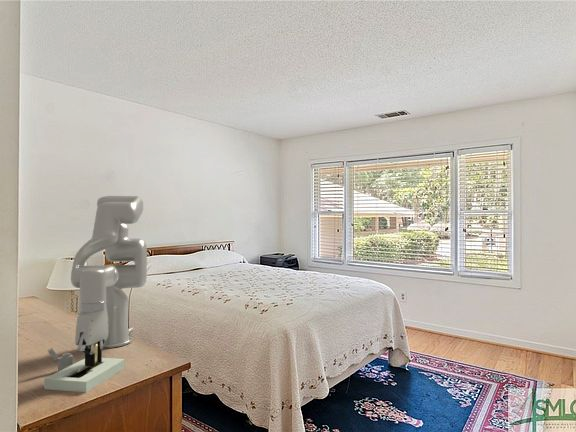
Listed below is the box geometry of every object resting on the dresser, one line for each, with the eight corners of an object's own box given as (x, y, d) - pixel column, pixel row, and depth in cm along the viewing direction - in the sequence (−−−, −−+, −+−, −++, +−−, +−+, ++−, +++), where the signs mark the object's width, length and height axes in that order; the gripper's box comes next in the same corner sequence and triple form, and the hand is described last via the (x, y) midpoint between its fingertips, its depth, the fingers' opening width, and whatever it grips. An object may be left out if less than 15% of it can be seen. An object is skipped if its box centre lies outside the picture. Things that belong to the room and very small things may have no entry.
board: (88, 365, 125) (88, 356, 125) (125, 368, 123) (125, 359, 123) (44, 389, 108) (44, 378, 108) (86, 392, 105) (86, 381, 105)
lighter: (72, 367, 124) (72, 343, 124) (73, 369, 122) (73, 344, 123) (47, 372, 120) (47, 348, 120) (47, 374, 118) (47, 349, 118)
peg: (92, 370, 120) (92, 338, 121) (104, 371, 120) (104, 339, 120) (82, 375, 116) (82, 343, 116) (94, 376, 115) (94, 343, 116)
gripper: (100, 301, 127) (100, 354, 127) (63, 312, 111) (63, 373, 111) (119, 301, 125) (119, 355, 125) (85, 313, 110) (85, 375, 109)
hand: (93, 363), depth 118 cm, fingers closed on peg, 2 cm apart
